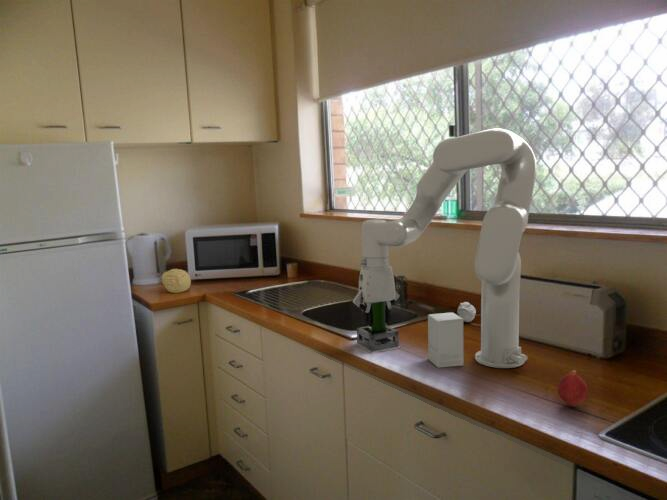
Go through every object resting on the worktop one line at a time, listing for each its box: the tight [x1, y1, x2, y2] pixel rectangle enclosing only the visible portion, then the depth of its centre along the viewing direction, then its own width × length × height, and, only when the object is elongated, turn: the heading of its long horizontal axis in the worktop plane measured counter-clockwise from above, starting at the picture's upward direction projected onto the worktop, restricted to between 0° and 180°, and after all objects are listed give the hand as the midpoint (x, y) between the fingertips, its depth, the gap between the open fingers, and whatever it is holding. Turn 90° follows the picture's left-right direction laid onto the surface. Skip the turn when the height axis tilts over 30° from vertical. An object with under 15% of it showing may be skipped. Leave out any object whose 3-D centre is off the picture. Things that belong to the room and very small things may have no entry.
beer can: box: [367, 301, 387, 334], centre depth 156 cm, size 5×5×12 cm
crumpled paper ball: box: [456, 301, 477, 323], centre depth 178 cm, size 6×7×7 cm
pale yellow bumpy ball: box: [161, 268, 192, 294], centre depth 244 cm, size 12×12×11 cm
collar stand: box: [355, 324, 401, 354], centre depth 157 cm, size 10×10×5 cm
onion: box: [557, 370, 589, 408], centre depth 112 cm, size 6×6×8 cm
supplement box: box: [427, 311, 465, 369], centre depth 141 cm, size 7×7×13 cm
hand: (377, 322), depth 156 cm, fingers closed on beer can, 5 cm apart
